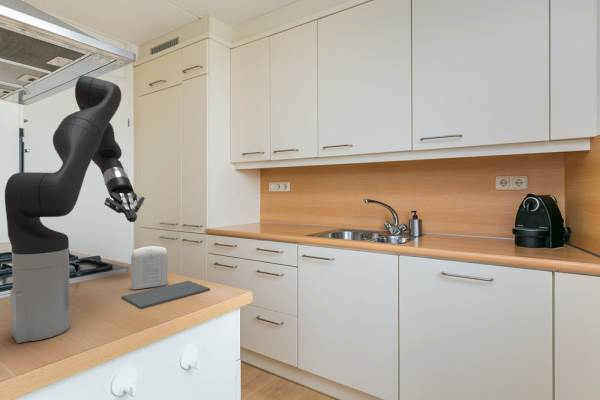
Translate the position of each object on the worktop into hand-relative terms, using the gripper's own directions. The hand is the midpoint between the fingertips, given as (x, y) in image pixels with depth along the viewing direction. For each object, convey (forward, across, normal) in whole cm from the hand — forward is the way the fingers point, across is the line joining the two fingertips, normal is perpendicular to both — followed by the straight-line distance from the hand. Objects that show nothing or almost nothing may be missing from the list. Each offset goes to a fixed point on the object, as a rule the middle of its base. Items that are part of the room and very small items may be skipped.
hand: (133, 220), depth 107 cm
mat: (+30, 0, -2) cm, 30 cm away
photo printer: (+22, 0, +6) cm, 23 cm away
